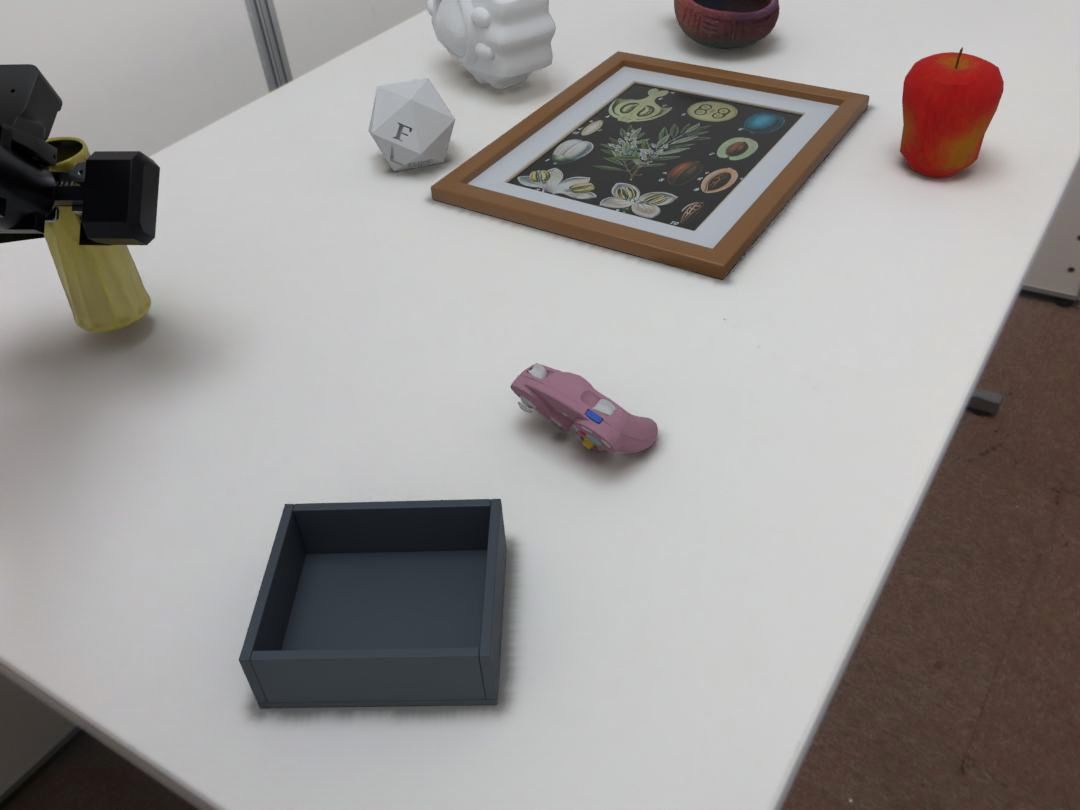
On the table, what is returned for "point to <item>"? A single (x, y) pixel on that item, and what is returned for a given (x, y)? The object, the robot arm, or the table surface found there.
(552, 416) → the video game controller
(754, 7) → the bowl
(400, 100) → the die
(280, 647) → the bin
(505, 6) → the white ridged sculpture
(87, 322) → the vase
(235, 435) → the table surface
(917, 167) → the apple
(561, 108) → the picture frame
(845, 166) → the table surface
